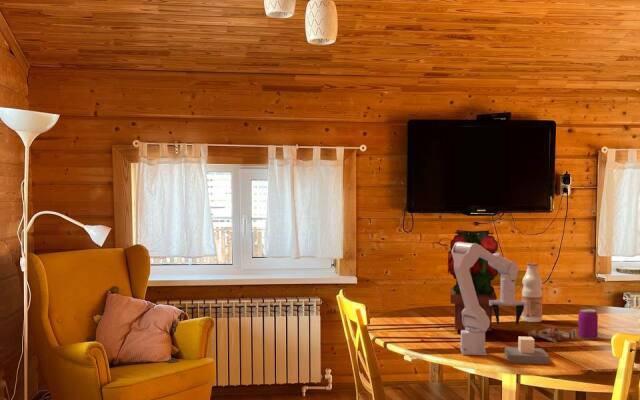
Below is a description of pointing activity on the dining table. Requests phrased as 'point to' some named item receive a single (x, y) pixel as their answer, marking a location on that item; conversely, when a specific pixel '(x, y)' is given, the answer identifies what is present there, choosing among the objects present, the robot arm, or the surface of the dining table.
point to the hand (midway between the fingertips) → (507, 323)
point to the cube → (526, 344)
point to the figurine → (551, 334)
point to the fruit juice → (532, 294)
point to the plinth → (526, 356)
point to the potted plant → (474, 275)
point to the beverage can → (588, 324)
